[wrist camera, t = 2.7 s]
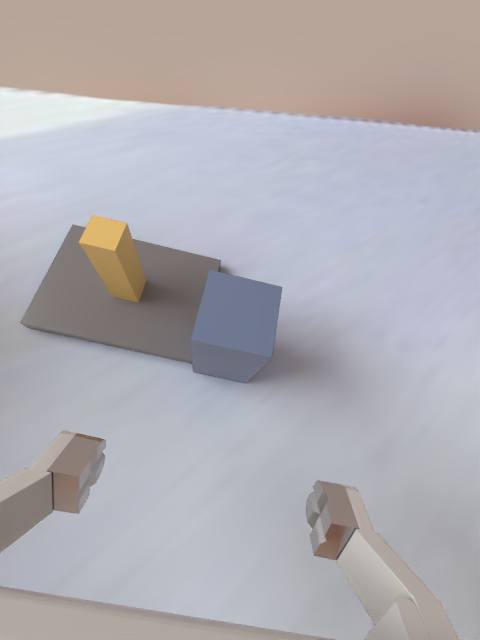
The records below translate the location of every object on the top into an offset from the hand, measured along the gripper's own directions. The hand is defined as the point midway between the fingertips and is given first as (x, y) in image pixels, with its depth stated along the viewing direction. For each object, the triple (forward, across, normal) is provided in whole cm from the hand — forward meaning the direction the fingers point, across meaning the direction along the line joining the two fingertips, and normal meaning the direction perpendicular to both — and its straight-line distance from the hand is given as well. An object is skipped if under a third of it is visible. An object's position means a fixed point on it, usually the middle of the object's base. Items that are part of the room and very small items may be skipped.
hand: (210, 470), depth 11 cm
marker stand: (+16, +9, 0) cm, 19 cm away
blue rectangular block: (+14, 0, +3) cm, 14 cm away
